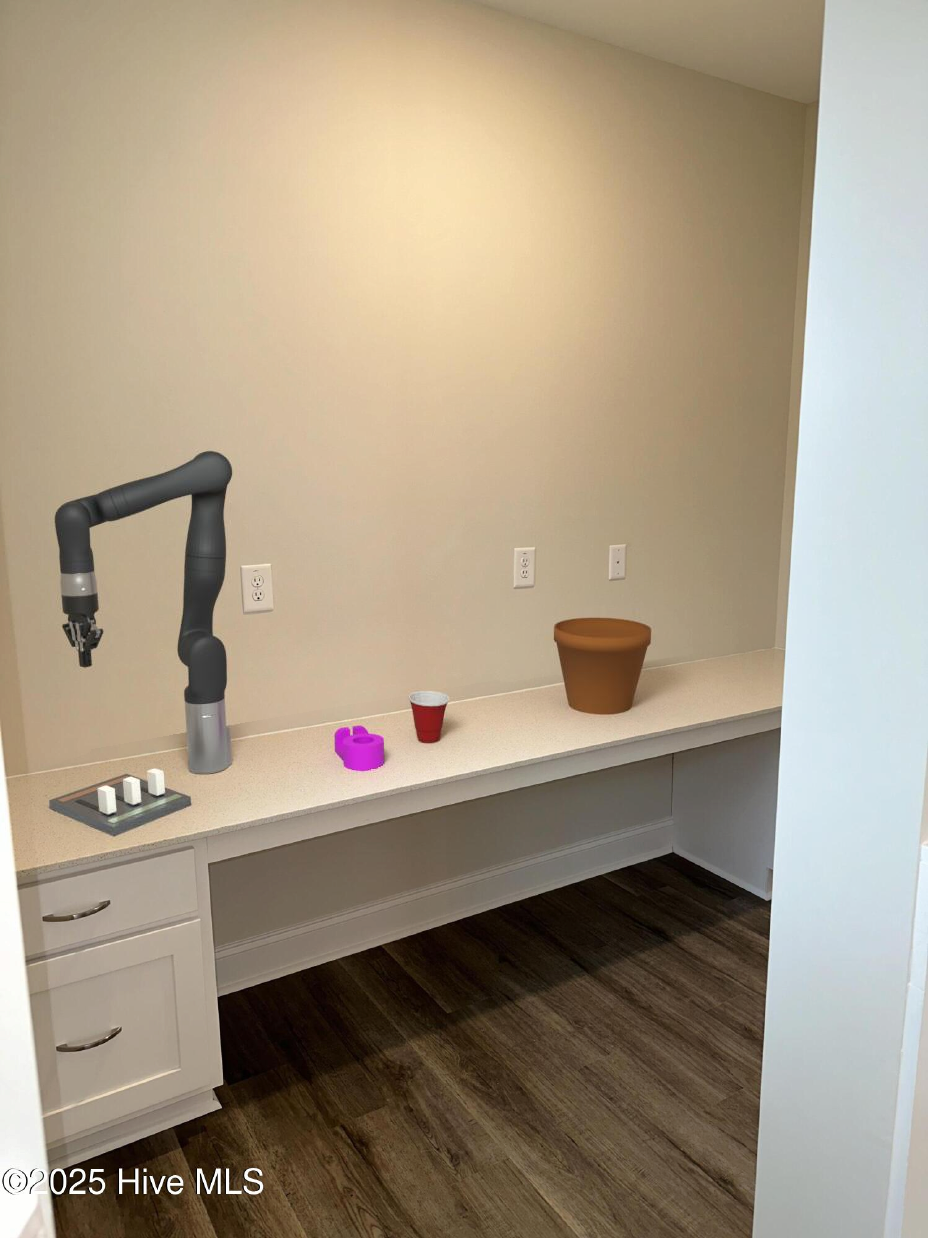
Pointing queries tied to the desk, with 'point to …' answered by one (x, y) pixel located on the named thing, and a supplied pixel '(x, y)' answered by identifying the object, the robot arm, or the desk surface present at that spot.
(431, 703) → the plastic cup
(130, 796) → the switch middle
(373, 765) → the tape dispenser
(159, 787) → the switch
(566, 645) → the flowerpot
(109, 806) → the switch
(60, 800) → the switch panel
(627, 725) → the desk surface
